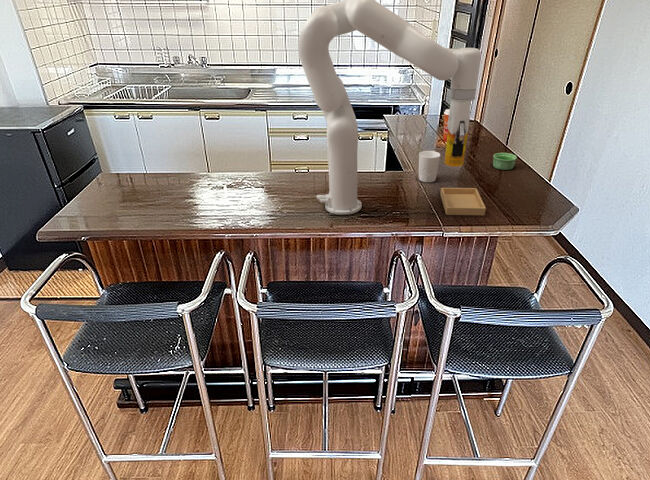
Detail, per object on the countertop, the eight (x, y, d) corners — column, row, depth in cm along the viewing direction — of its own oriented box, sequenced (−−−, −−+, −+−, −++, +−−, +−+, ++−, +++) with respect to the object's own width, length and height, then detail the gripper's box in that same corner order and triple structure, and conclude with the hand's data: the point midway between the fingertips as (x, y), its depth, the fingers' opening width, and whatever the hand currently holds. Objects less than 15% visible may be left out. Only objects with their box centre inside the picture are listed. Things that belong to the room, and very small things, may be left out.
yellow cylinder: (449, 169, 140) (455, 122, 132) (440, 163, 145) (445, 117, 137) (466, 167, 141) (473, 120, 133) (457, 161, 146) (463, 115, 138)
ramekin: (517, 170, 175) (520, 159, 173) (495, 170, 175) (497, 160, 173) (510, 162, 183) (512, 152, 180) (489, 163, 183) (490, 152, 180)
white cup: (436, 175, 173) (439, 150, 167) (438, 183, 166) (441, 157, 161) (416, 175, 174) (418, 150, 168) (417, 182, 167) (419, 157, 162)
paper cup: (438, 138, 212) (441, 109, 204) (452, 137, 214) (455, 107, 206) (446, 143, 206) (449, 113, 198) (460, 141, 207) (464, 111, 200)
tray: (446, 214, 144) (447, 207, 143) (440, 194, 158) (441, 187, 156) (484, 215, 143) (485, 208, 142) (475, 194, 157) (476, 188, 155)
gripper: (446, 88, 138) (440, 144, 148) (454, 100, 124) (446, 161, 134) (470, 87, 138) (462, 144, 148) (481, 100, 123) (472, 161, 133)
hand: (455, 152), depth 141 cm, fingers closed on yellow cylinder, 6 cm apart
